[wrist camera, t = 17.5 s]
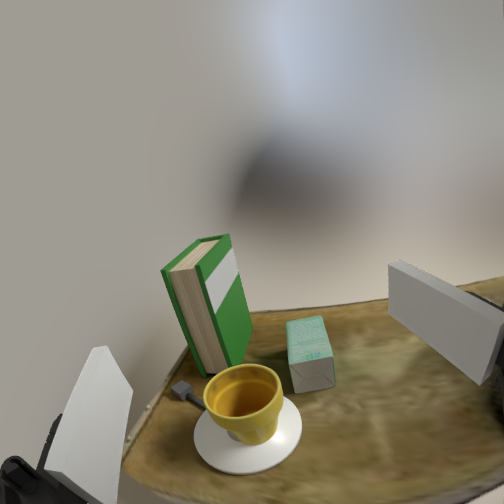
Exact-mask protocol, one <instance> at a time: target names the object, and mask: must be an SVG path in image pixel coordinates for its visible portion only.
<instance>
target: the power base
mask: <svg viewBox="0 0 504 504" xmlns="http://www.w3.org/2000/svg"><path fill="white" fill-rule="evenodd" d="M171 390H172V392H173V393H174V395H175V396H177V397H178V398H179V399H181V400H182V401H184V400H185V399H187V398H189V399H190V400H192V401H193V402H195V403H196V404H198V405H200V406H201V407H203V408H204V409H206V407H205V405H204V402H203V401H201V400H200V399H198V398H196V397H195V396H193V395H192V394H193V393H194V390H193V389H192V387H191V385H190V384H188V383H186V382H185V381H183V380H181V381H179V382H178V383H177V384H175V385H174V386H173V387H171ZM283 398H284V401H283V406H282V409H281V411H280V413H279V416H278V425H277V430H276V432H275V434H274V435H273V436H272V437H271V438H270V439H269V440H268V441H266V442H264V443H261V444H257V445H250V444H245V443H243V442H241V441H239V440H238V439H237V438H236V437H235V436H234V435H233V434H232V433H231V432H230V431H228V430H226V429H224V428H222V427H220V426H218V425H217V424H216V423H215V422H214V421H213V419H212V418H211V416H210V415H209V413H208V411H207V409H206V410H205V411H204V413H203V414H202V415H201V416H200V418H199V419H198V421H197V424H196V426H195V430H194V443H195V446H196V449H197V451H198V452H199V454H200V455H201V457H202V458H203V459H204V460H205V461H206V462H207V463H208V464H209V465H210V466H212V467H213V468H215V469H217V470H219V471H222V472H225V473H228V474H234V475H251V474H257V473H261V472H264V471H267V470H270V469H272V468H274V467H276V466H277V465H279V464H281V463H282V462H283V461H285V460H286V459H287V458H288V457H289V456H290V455H291V454H292V453H293V451H294V450H295V449H296V447H297V445H298V443H299V441H300V438H301V434H302V422H301V417H300V414H299V411H298V409H297V408H296V406H295V405H294V404H293V403H292V402H291V401H290V400H289V399H287V398H286V397H284V396H283Z"/></svg>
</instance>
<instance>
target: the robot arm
mask: <svg viewBox="0 0 504 504" xmlns="http://www.w3.org/2000/svg"><path fill="white" fill-rule="evenodd" d="M503 13H504V0H503ZM388 274H389V307H388V314H389V315H391V316H392V317H393V318H395V319H396V320H397V321H399V322H400V323H401V324H402V325H404V326H405V327H406V328H408V329H409V330H410V331H412V332H413V333H414V334H415V335H417V336H418V337H419V338H421V339H422V340H423V341H424V342H426V343H427V344H428V345H430V346H431V347H432V348H433V349H435V350H436V351H437V352H438V353H440V354H441V355H442V356H443V357H445V358H446V359H447V360H449V361H450V362H451V363H452V364H453V365H455V366H456V367H457V368H458V369H460V370H461V371H462V372H463V373H465V374H466V375H467V376H468V377H469V378H471V379H472V380H473V381H474V382H475V383H477V384H478V385H479V386H480V385H481V384H482V383H483V382H484V381H485V380H486V379H487V378H488V377H489V376H490V375H491V372H492V370H493V367H494V365H495V364H497V365H498V366H499V368H498V370H497V373H496V375H495V377H494V380H493V382H492V387H491V388H494V386H495V384H496V382H497V380H499V382H498V385H497V387H500V391H501V397H502V404H503V412H504V304H503V308H501V307H499V306H497V305H495V304H494V303H492V302H490V303H489V301H488V300H486V299H484V298H483V299H482V297H480V296H478V295H476V294H475V293H472V292H468V291H464V290H461V289H459V288H457V287H455V286H453V285H451V284H449V283H447V282H445V281H443V280H441V279H439V278H437V277H435V276H433V275H431V274H429V273H427V272H425V271H423V270H420V269H418V268H416V267H414V266H412V265H410V264H408V263H405V262H403V261H401V260H399V261H396V262H394V263H391V264H388ZM132 394H133V390H132V388H131V387H130V385H129V383H128V382H127V380H126V378H125V377H124V375H123V374H122V372H121V370H120V368H119V367H118V365H117V363H116V361H115V360H114V358H113V356H112V354H111V353H110V350H109V349H108V347H107V345H106V346H102V347H96V348H93V349H92V351H91V353H90V355H89V357H88V359H87V361H86V363H85V365H84V367H83V370H82V372H81V374H80V376H79V378H78V380H77V383H76V385H75V387H74V389H73V392H72V394H71V397H70V399H69V401H68V403H67V406H66V408H65V411H64V413H63V414H60V415H59V416H58V417H57V419H56V420H55V421H54V422H53V424H52V427H51V429H50V432H49V433H50V435H48V437H47V440H46V441H47V443H45V445H44V448H43V451H42V454H41V457H40V460H39V463H38V466H37V469H36V470H34V469H33V468H32V467H31V466H30V465H29V464H28V463H27V462H26V461H24V460H23V459H22V458H21V457H19V456H11V457H9V458H8V459H6V460H5V461H4V463H3V464H2V466H1V469H0V504H87V503H89V504H116V502H117V491H118V481H119V473H120V465H121V457H122V450H123V444H124V437H125V431H126V425H127V420H128V414H129V409H130V404H131V399H132Z"/></svg>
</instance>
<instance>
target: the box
mask: <svg viewBox="0 0 504 504" xmlns="http://www.w3.org/2000/svg"><path fill="white" fill-rule="evenodd" d="M286 335H287V348H288V363H289V369H290V373H291V378H292V383H293V387H294V392H295V393H297V394H298V393H305V392H311V391H317V390H323V389H327V388H332V387H334V386H335V371H334V359H333V353H332V349H331V346H330V342H329V339H328V336H327V332H326V329H325V326H324V322H323V319H322V317H321V316H315V317H309V318H304V319H298V320H293V321H289V322H287V323H286Z"/></svg>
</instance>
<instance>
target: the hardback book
mask: <svg viewBox="0 0 504 504" xmlns="http://www.w3.org/2000/svg"><path fill="white" fill-rule="evenodd" d="M161 274H162V277H163V279H164V282H165V285H166V288H167V291H168V293H169V296H170V299H171V302H172V304H173V307H174V310H175V313H176V315H177V318H178V321H179V323H180V326H181V328H182V331H183V333H184V336H185V338H186V340H187V343H188V345H189V348H190V350H191V353H192V355H193V357H194V360H195V362H196V364H197V367H198V369H199V371H200V373H201V375H202V377H205V378H206V377H207V375H208V373H220V372H222V371H223V370H225V369H228V368H230V367H233V366H237V365H241V363H242V360H243V357H244V354H245V351H246V348H247V345H248V342H249V339H250V336H251V333H252V330H253V326H252V322H251V318H250V314H249V310H248V306H247V303H246V299H245V295H244V291H243V287H242V283H241V279H240V275H239V271H238V268H237V264H236V260H235V256H234V252H233V248H232V244H231V240H230V235H229V234H224V235H218V236H213V237H208V238H202V239H197V240H196V241H195V242H194V243H193V244H191V245H190V246H189V247H188V248H187V249H185V250H184V251H183V252H182V253H181V254H179V255H178V256H177V257H176V258H175V259H173V260H172V261H171V262H170V263H169V264H168V265H166V266H165V267H164V268H163V269H162V270H161Z"/></svg>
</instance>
